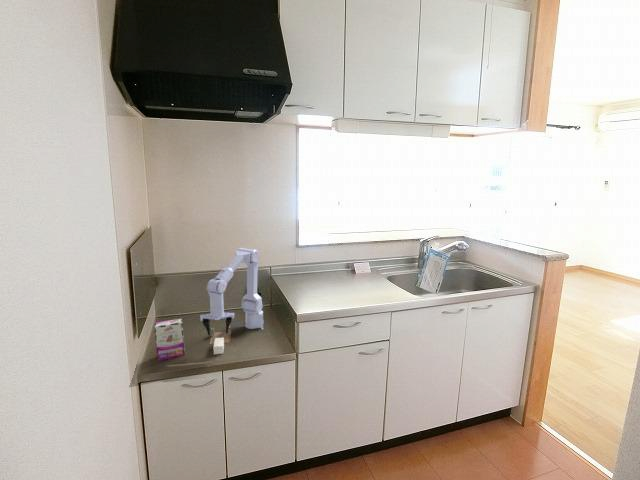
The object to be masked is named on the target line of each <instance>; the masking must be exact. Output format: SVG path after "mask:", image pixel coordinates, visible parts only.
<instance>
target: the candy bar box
mask: <svg viewBox="0 0 640 480" xmlns="http://www.w3.org/2000/svg"><path fill="white" fill-rule="evenodd" d="M154 335H155V345H156V346H155V347H156V355H157V356H156V358H157V361H158V362H161V361H166V360H171V359H172V358H174V357H175V358H176V357H179V356H180V357H181V356H185V355H186V352H185V351H186V350H185V348H186V347H185V340H184V339H185V338H184V328H183V317H182V318H177V319H176V318H175V319H169V320H164V321H157V322H154Z"/></svg>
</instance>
